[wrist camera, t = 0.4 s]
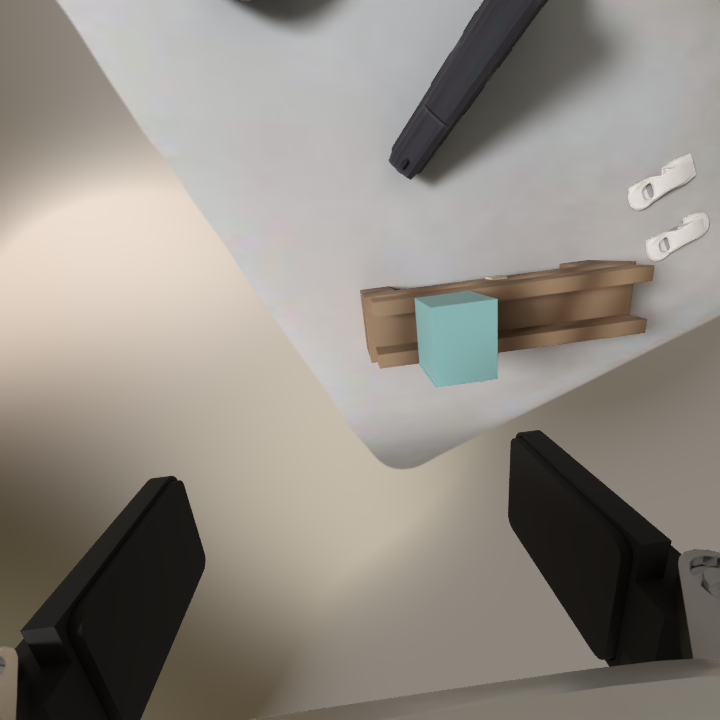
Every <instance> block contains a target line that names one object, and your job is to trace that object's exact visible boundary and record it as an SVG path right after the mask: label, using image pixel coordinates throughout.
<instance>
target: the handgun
mask: <svg viewBox="0 0 720 720" xmlns="http://www.w3.org/2000/svg"><path fill="white" fill-rule="evenodd" d="M547 1H548V0H484V1H483V2H482V4H481V6H480V7H479V9H478V10H477V11H476V12H475V14H474V15H473V17H472V19H471V20H470V22H469V23H468V25H467V27H466V28H465V30H464V33H463V35H462V36H461V38H460V40H459V41H458V43H457V44H456V46H455V48H454V49H453V51H452V52H451V53H450V54H449V56H448V57H447V59H446V60H445V62H444V64H443V65H442V67H441V69H440V70H439V72H438V73H437V75H436V77H435V78H434V80H433V81H432V83H431V86H430V88H429V89H428V91H427V92H426V94H425V96H424V97H423V99H422V101H421V102H420V104H419V105H418V107H417V109H416V110H415V112H414V113H413V115H412V117H411V118H410V120H409V121H408V123H407V125H406V126H405V128H404V129H403V131H402V133H401V134H400V136H399V137H398V139H397V141H396V142H395V144H394V145H393V147H392V153H391V156H390V159H389V162H390V163H391V165H392V166H394V167H395V168H396V170H397V171H398V172H400V173H401V174H403V175H404V176H405V177H407V178H409V179H410V180H411V179H412V178H413V177H414V176H415V175H416V174H418V173H421V171H422V170H423V169H424V167H425V166H426V165H427V163H428V162H429V161H430V159H431V158H432V156H433V155H434V154H435V152H436V151H437V150H438V148H439V147H440V146H441V144H442V143H443V141H444V140H445V139H446V137H447V136H448V135H449V133H450V132H451V131H452V129H453V128H454V126H455V125H456V124H457V122H458V121H459V120H460V118H461V117H462V116H463V115H464V114H465V113H466V111H467V110H468V108H469V107H470V106H471V104H472V103H473V102H474V100H475V99H476V98H477V96H478V95H479V94H480V92H481V91H482V89H483V88H484V86H485V84H486V83H487V81H488V80H489V79H490V77H491V76H492V75H493V73H494V72H495V71H496V69H497V68H499V66H500V65H501V64H502V62H503V61H504V60H505V58H506V57H507V55H508V54H509V53H510V51H511V50H512V48H513V46H514V45H515V44H516V42H517V41H518V40H519V38H520V37H521V36H522V34H523V33H524V31H525V30H526V29H527V27H528V26H529V25H530V23H531V22H532V21H533V19H534V18H535V16H536V15H537V14H538V12H539V11H540V10H541V8H542V7H543V6H544V5H545V4H546V2H547Z"/></svg>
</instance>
